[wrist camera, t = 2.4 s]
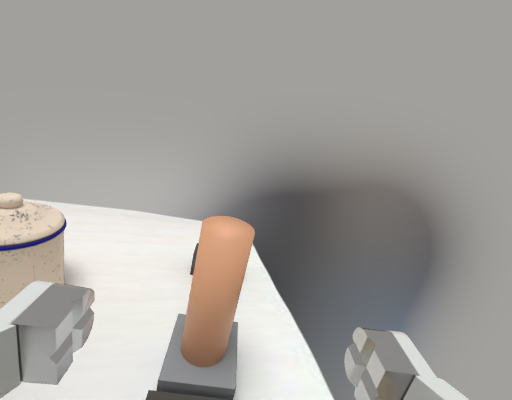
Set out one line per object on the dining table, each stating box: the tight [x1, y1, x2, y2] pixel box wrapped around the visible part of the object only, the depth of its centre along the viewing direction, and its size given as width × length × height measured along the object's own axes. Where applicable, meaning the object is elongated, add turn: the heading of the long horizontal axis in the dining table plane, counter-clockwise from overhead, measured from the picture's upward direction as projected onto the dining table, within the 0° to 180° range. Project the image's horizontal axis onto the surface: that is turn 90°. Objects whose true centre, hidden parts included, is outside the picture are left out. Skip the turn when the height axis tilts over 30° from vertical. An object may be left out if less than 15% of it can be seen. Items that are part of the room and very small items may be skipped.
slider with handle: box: [157, 216, 255, 400], centre depth 24 cm, size 7×6×16 cm
